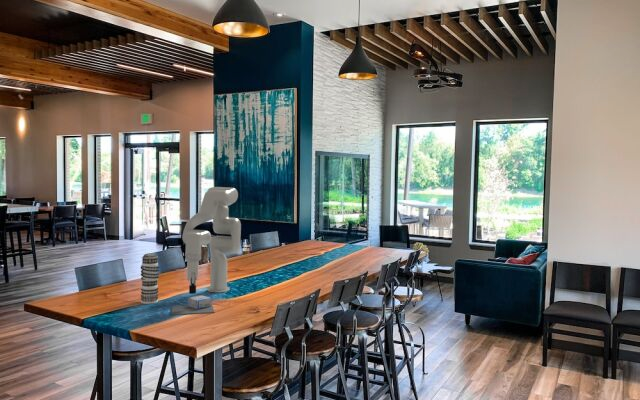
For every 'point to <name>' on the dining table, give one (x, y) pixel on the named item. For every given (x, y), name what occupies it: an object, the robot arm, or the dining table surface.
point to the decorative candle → (149, 278)
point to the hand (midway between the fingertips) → (192, 293)
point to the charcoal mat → (190, 310)
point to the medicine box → (199, 302)
